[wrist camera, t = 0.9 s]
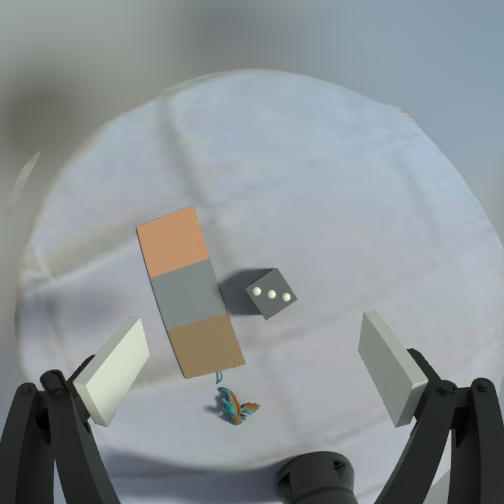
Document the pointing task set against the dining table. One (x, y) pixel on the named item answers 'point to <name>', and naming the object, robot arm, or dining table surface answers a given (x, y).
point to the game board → (189, 294)
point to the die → (271, 293)
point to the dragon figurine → (236, 407)
